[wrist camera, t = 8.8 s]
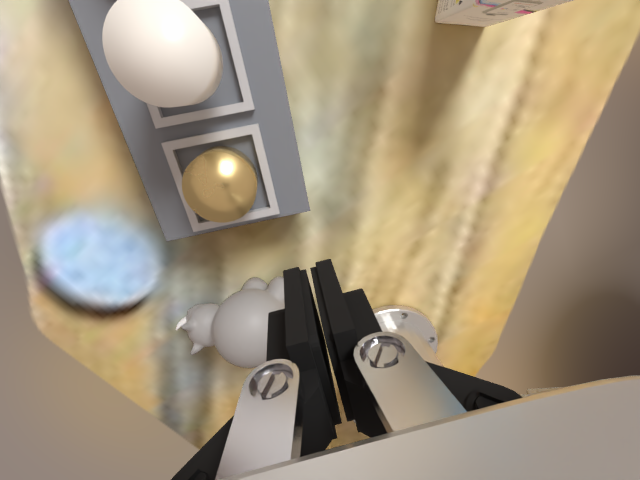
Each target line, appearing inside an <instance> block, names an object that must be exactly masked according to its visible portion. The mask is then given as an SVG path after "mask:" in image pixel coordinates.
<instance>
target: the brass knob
mask: <svg viewBox="0 0 640 480" xmlns="http://www.w3.org/2000/svg"><path fill="white" fill-rule="evenodd" d="M257 185H258V176H257V171H256V168H255V166H254V164H253V163H252V161H251V160H250V159H249V157H247V156H246V155H245V154H244V153H243V152H241V151H239V150H238V149H235V148H233V147H229V146H215V147H212V148H209V149H207V150H205V151H204V152H202V153H201V154H200V155H199V156H197V157H196V158H195V159H194V160H193V161H192V162H191V163H190V164H189V165H188V166H187V168H186V169H185V172H184V174H183V178H182V192H183V195H184V198H185V200H186V202H187V204H188V205H189V206H190V208H191V209H192V210H193V211H194V212H195V213H196V214H198V215H199V216H201V217H202V218H204V219H206V220H209V221H213V222H219V223H226V222H231V221H235V220H237V219H239V218H241V217H243V216H244V215H245V214H246V213H247V212H248V211H249V210H250V209H251V207H252V205H253V204H254V201H255V197H256V192H257Z"/></svg>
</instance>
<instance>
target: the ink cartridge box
mask: <svg viewBox="0 0 640 480" xmlns="http://www.w3.org/2000/svg"><path fill="white" fill-rule="evenodd" d="M569 1H573V0H438V5H437V10H436V16H435V22H437V23H446V24H459V25H470V26H481V27H487V26H491V25H494V24H497V23H500V22H504V21H507V20H510V19H514V18H517V17H520V16H523V15H526V14H530V13H533V12H536V11H540V10H544V9H546V8H549V7H553V6H556V5H559V4H562V3H566V2H569Z"/></svg>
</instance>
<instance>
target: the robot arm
mask: <svg viewBox="0 0 640 480" xmlns="http://www.w3.org/2000/svg"><path fill="white" fill-rule="evenodd" d="M310 269H311V274H312V278H313V283H314V288H315V293H316V298H317V302H318V307H319V312H320V317H321V322H322V327H323V331H324V335H323V331H322V327H321V324H320V320H319V316H318V313H317V309H316V305H315V302H314V298H313V294H312V291H311V287H310V283H309V280H308V276H307V272H306V269H305V270H301V271H300V269H299V267H296V268H292V269H288V270H284V271H283V276H284V303H285V308H284V309H280V310H277V311H273V312H269V314H268V332H267V355H266V362H265V363H263V364H261V365H259V366H258V367H257V368H255V369H254V370H253V371H252V372H251V373H250V374H249V375H248V376H247V378H246V380H245V382H244V384H243V387H242V391H241V394H240V397H239V401H238V404H237V408H236V411H235V414H234V416H233V417H232V418H231V419H230V420H229V421H228V422H227V423H226V424H225V425H224V426H223V427H222V428H221V429H220V430H219V431H218V432H217V433H216V434H215V435H214V436H213V437H212V438H211V439H210V440H209V441H208V442H207V443H206V444H205V445H204V446H203V447H202V448H201V449H200V450H199V451H198V452H197V453H196V454H195V455H194V456H193V457H192V458H191V459H190V460H189V461H188V462H187V464H186V465H185V466H184V467H183V468H182V469H181V470H180V471H179V472H178V473H177V474H176V475H175V476H174V477H173V478H172V479H171V480H640V375H639V376H626V377H618V378H611V379H603V380H598V381H593V382H589V383H584V384H579V385H575V386H569V387H559V388H541V389H527V395H519V394H517V393H516V392H515V391H513V390H510V389H508V388H506V387H504V386H501V385H498V384H494V383H491V382H488V381H485V380H482V379H479V378H476V377H473V376H470V375H467V374H464V373H461V372H458V371H454V370H451V369H448V368H445V367H444V366H443V365H442V363H441V362H440V360H439V359H438V357H437V355H436V351H437V345H438V339H437V334H436V331H435V328H434V327H433V325H432V324H431V322H430V321H429V319H428V318H427V317H426V316H425V315H424V314H422V313H421V312H419V311H418V310H415V309H413V308H411V307H406V306H401V305H390V306H383V307H379V308H376V309H372V308H371V306H370V304H369V302H368V300H367V297H366V295H365V293H364V291H363V289H358V290H354V291H350V292H346V293H342V290H341V287H340V285H339V282H338V279H337V276H336V273H335V270H334V268H333V265H332V262H331V259H327V260H323V261H320V262H316V267H313V268H310ZM324 336H325V339H324ZM325 340H326V344H327V348H328V351H329V355H330V359H331V362H332V366H333V370H334V373H335V377H336V381H337V385H338V388H339V392H340V396H341V399H342V403H343V407H344V410H345V414H346V418H347V421H352V420H353V421H354V422H355V423H356V426H357V430H358V432H362V433H363V434H365V435H367V436H369V437H371V438H369V439H365V440H361V441H357V442H354V443H350V444H346V445H343V446H339V447H335V448H332V449H328V450H325V449H326V448H327V447H328V445H329V444H330V442H331V441H332V439H336V438H337V435H336V429H335V425H337V424H341V423H342V422H341V417H340V412H339V407H338V402H337V398H336V393H335V388H334V383H333V378H332V373H331V368H330V363H329V359H328V354H327V349H326V344H325Z"/></svg>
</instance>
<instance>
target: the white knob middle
mask: <svg viewBox="0 0 640 480" xmlns="http://www.w3.org/2000/svg"><path fill="white" fill-rule="evenodd" d="M102 41H103V49H104V54H105V57H106V60H107V63H108V65H109V67H110V69H111V71H112V73H113V74H114V76H115V77H116V79H117V80H118V81H119V83H120V84H121V85H122V86H123V87H124V88H125V89H126V90H127V91H128V92H129V93H131V94H132V95H133V96H135V97H136V98H138V99H140V100H141V101H143V102H145V103H148V104H150V105H154V106H158V107H168V108H171V107H179V106H188V105H195V104H198V103H201V102H203V101H205V100H206V99H208V98H209V97H210V96H211V95H212V94H213V93H214V92H215V91H216V89H217V87H218V86H219V83H220V81H221V78H222V73H223V58H222V54H221V50H220V47H219V45H218V42H217V40H216V38H215V37H214V35H213V34H212V32H211V31H210V30H209V28H208V27H207V26H206V25H205V24H204V23H203V22H202V21H201V20H200V19H199V18H198V17H197V16H196V14H195V13H194V12H193V11H192V10H191V9H190V8H189V7H188V6H186V5H185V4H184V3H183V2H181V1H180V0H117V1H116V2H115V3H114V4H113V6H112V7H111V8H110V10H109V12H108V14H107V16H106V19H105V22H104V26H103V33H102Z"/></svg>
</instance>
